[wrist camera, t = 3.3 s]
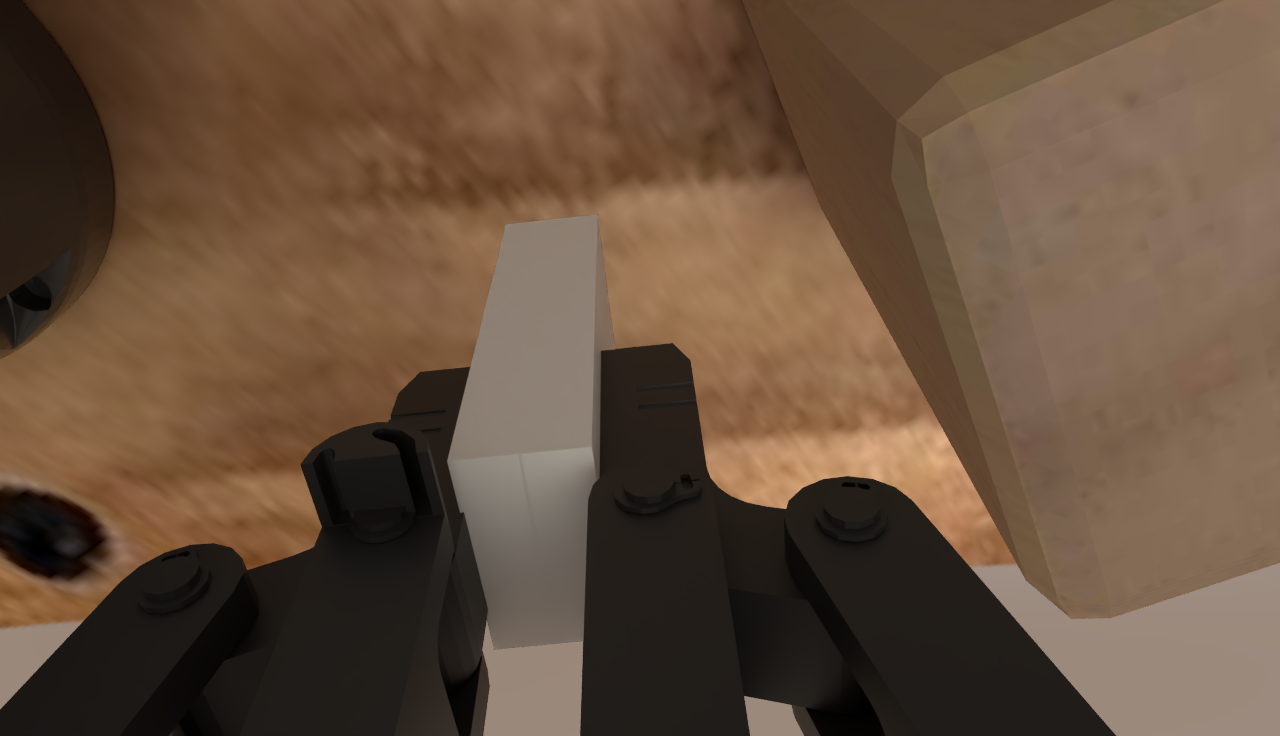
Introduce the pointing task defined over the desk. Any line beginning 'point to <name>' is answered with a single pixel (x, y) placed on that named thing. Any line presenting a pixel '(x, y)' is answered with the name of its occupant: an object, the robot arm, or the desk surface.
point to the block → (1068, 261)
